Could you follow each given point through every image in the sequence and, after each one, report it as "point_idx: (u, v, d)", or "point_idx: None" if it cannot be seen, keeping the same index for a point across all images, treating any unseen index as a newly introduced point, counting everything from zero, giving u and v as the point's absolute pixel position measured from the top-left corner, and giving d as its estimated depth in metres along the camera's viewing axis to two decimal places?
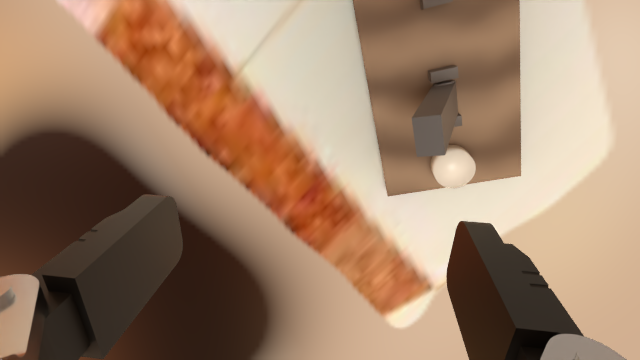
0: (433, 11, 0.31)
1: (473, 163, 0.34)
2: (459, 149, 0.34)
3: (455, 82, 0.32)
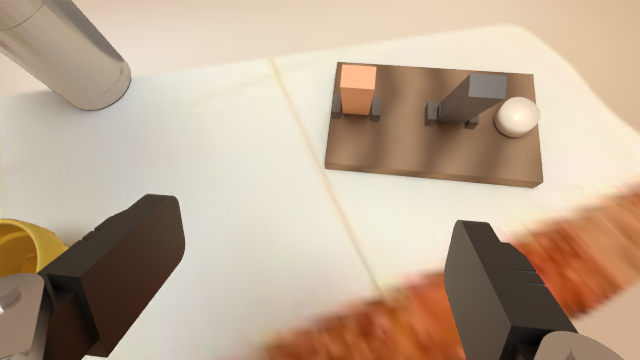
0: (382, 114, 0.41)
1: (516, 98, 0.38)
2: (500, 108, 0.39)
3: None
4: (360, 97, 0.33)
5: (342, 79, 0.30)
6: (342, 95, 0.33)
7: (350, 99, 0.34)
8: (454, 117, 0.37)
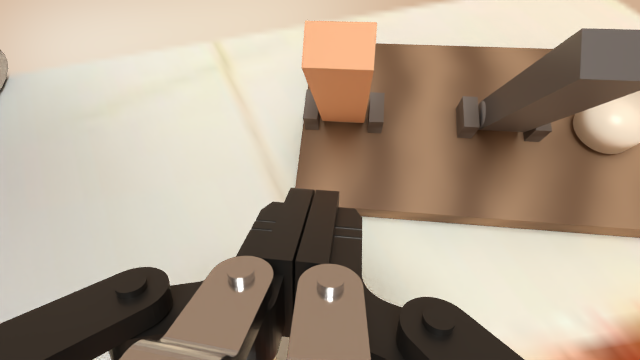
0: (387, 121, 0.26)
1: None
2: None
3: (483, 99, 0.24)
4: (347, 90, 0.17)
5: (305, 51, 0.14)
6: (312, 87, 0.17)
7: (329, 95, 0.18)
8: (513, 123, 0.21)
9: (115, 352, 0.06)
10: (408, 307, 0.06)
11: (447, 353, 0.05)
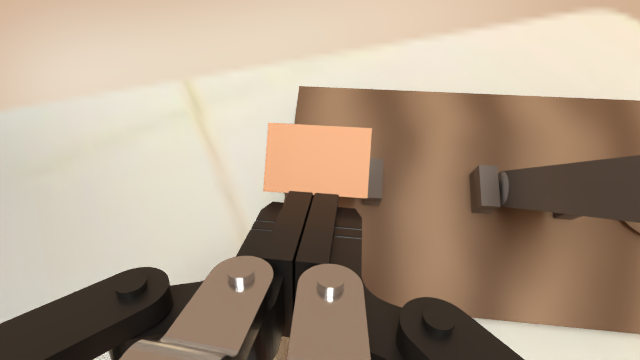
0: (386, 189, 0.21)
1: None
2: None
3: None
4: None
5: (269, 167, 0.10)
6: None
7: None
8: None
9: (115, 352, 0.06)
10: (408, 307, 0.06)
11: (447, 353, 0.05)
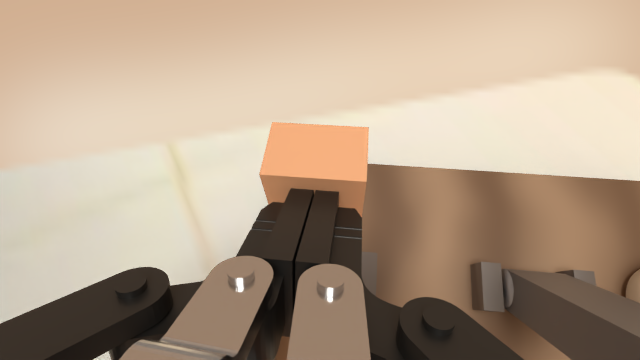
0: (381, 281, 0.20)
1: None
2: None
3: (509, 270, 0.18)
4: None
5: (267, 155, 0.10)
6: None
7: None
8: None
9: (115, 352, 0.06)
10: (408, 307, 0.06)
11: (447, 353, 0.05)
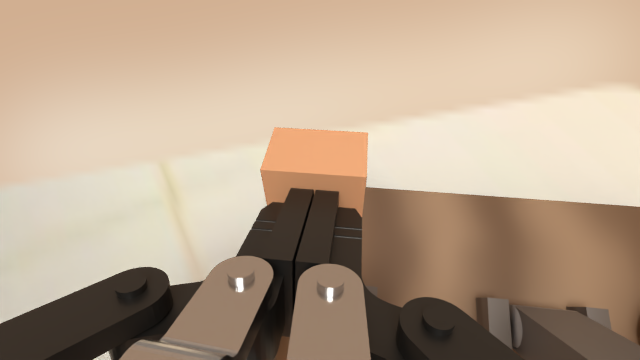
0: None
1: None
2: None
3: (518, 307, 0.17)
4: None
5: (269, 154, 0.10)
6: None
7: None
8: None
9: (115, 352, 0.06)
10: (408, 307, 0.06)
11: (447, 353, 0.05)
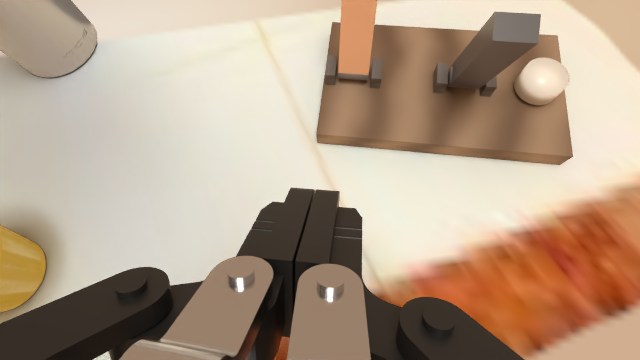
0: (384, 80, 0.36)
1: (540, 58, 0.33)
2: (522, 71, 0.33)
3: (451, 65, 0.34)
4: None
5: None
6: None
7: (352, 3, 0.30)
8: (469, 79, 0.32)
9: (115, 352, 0.06)
10: (408, 307, 0.06)
11: (447, 353, 0.05)
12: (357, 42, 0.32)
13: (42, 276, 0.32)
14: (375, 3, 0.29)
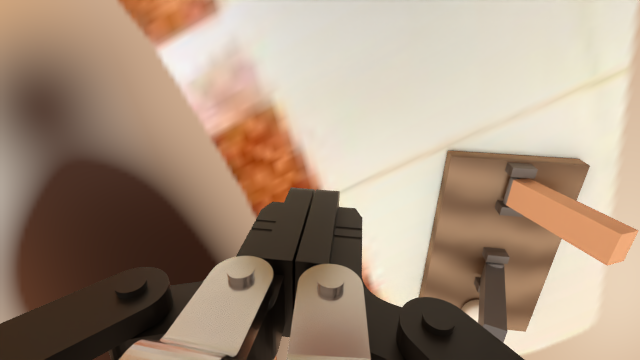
0: None
1: None
2: None
3: None
4: (576, 234, 0.30)
5: (627, 234, 0.27)
6: (586, 218, 0.29)
7: (569, 218, 0.31)
8: (483, 280, 0.40)
9: (115, 352, 0.06)
10: (408, 307, 0.06)
11: (447, 353, 0.05)
12: (534, 208, 0.34)
13: None
14: (563, 238, 0.31)
